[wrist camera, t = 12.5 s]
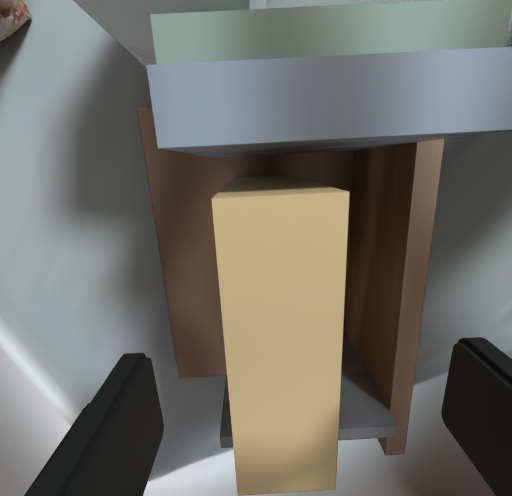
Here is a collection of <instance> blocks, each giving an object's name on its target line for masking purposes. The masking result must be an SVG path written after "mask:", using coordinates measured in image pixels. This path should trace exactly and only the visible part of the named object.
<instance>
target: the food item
mask: <svg viewBox="0 0 512 496" xmlns="http://www.w3.org/2000/svg"><path fill="white" fill-rule="evenodd" d="M30 18H31V15H30V13H29V11H28V9H27V6H26V5H25V4H24V2H23V1H22V0H0V41H2V40H4V39H5V38H7V37H9V36H10V35H12V34H13V33H14V32H15V31H17V30H18V29H19V28H20V27H21V26H22V25H23V24H24V23H25V22H26V21H28V20H29V19H30Z"/></svg>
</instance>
